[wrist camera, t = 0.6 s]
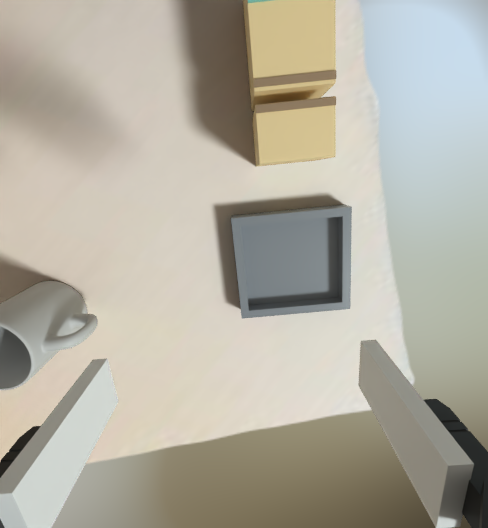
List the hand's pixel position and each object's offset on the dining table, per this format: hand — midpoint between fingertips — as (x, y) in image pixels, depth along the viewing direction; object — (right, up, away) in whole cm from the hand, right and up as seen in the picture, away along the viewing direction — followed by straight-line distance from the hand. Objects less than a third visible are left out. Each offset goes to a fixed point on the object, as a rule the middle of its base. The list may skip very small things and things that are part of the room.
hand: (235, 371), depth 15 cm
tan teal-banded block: (+4, +28, +16) cm, 33 cm away
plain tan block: (+5, +20, +19) cm, 28 cm away
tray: (+7, +6, +23) cm, 25 cm away
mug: (-23, 0, +25) cm, 34 cm away
